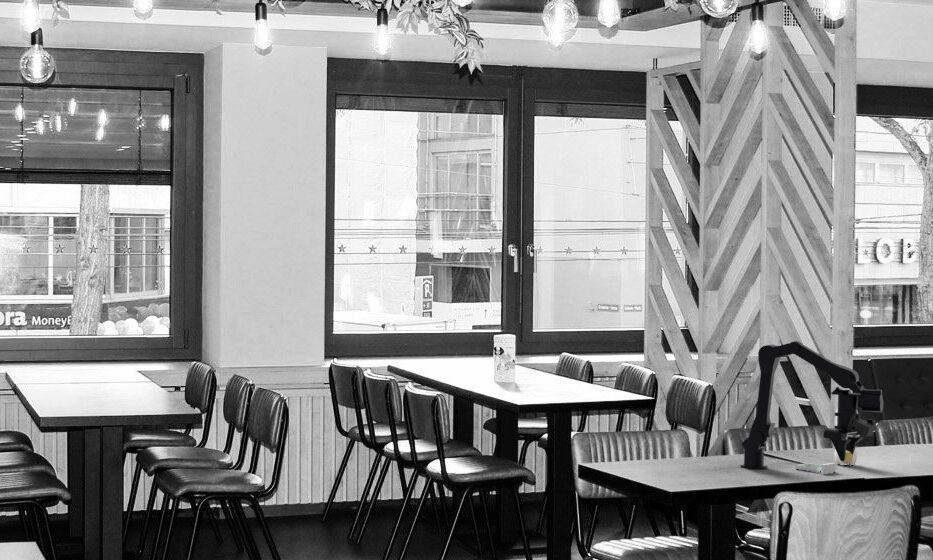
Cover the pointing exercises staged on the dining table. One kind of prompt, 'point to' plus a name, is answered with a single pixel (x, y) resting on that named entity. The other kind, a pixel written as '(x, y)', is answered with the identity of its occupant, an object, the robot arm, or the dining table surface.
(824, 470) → the wall
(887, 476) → the dining table surface
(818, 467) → the dish
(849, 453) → the ball
